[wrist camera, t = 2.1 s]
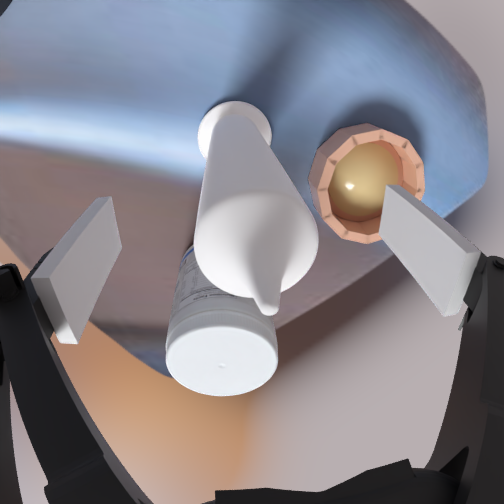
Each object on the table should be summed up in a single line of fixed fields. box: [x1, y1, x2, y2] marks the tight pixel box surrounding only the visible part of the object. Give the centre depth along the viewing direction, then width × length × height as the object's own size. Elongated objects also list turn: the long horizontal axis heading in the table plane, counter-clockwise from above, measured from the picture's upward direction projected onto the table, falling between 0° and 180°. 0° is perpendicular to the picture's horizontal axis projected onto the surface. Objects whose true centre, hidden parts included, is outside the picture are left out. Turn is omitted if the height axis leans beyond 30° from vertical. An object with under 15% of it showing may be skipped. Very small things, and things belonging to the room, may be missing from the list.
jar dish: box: [308, 123, 425, 244], centre depth 32 cm, size 12×12×4 cm
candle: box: [194, 101, 319, 316], centre depth 19 cm, size 7×7×25 cm
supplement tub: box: [166, 244, 278, 396], centre depth 31 cm, size 10×10×15 cm
